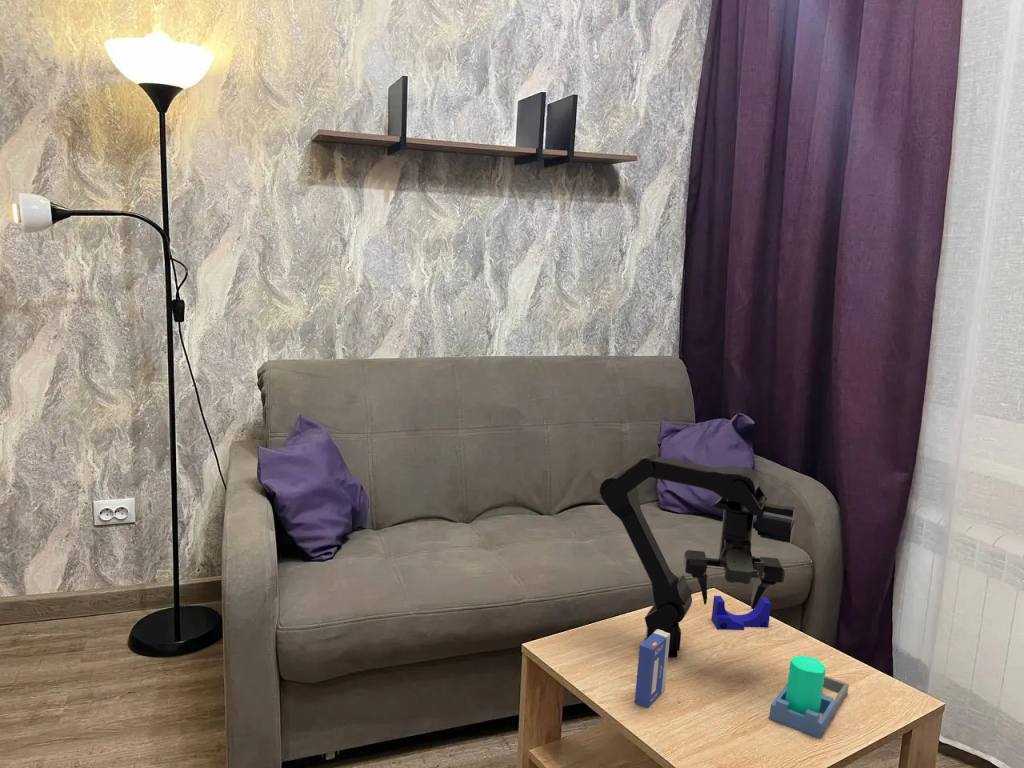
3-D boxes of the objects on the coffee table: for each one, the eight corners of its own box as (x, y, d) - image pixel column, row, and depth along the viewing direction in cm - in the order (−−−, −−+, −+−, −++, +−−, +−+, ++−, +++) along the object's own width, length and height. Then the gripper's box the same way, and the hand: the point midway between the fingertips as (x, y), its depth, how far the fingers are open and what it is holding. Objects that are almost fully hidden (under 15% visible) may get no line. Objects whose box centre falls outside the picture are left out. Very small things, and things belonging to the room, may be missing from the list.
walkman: (648, 708, 149) (653, 648, 146) (634, 702, 150) (639, 643, 148) (665, 689, 155) (671, 631, 153) (652, 684, 157) (657, 626, 154)
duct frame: (819, 739, 142) (822, 718, 141) (768, 719, 147) (771, 699, 146) (847, 693, 157) (850, 674, 156) (800, 676, 162) (802, 658, 161)
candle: (793, 726, 145) (801, 665, 143) (778, 706, 151) (785, 647, 149) (824, 725, 146) (833, 664, 144) (808, 705, 152) (816, 646, 150)
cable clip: (717, 630, 179) (719, 604, 178) (711, 620, 184) (714, 595, 183) (770, 631, 180) (773, 606, 179) (763, 621, 184) (766, 597, 183)
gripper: (692, 543, 152) (684, 620, 155) (795, 552, 150) (785, 630, 153) (686, 522, 163) (679, 594, 166) (782, 530, 161) (773, 603, 164)
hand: (728, 606), depth 162 cm, fingers open, 9 cm apart
